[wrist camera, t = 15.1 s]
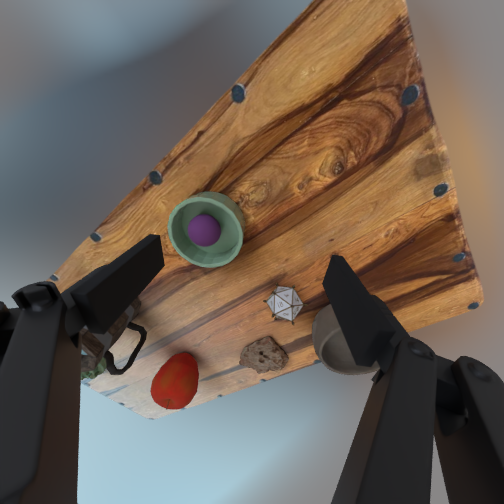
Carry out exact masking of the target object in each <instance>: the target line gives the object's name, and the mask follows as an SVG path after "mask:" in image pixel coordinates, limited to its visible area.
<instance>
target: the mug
mask: <svg viewBox="0 0 504 504" xmlns="http://www.w3.org/2000/svg"><path fill="white" fill-rule="evenodd" d="M140 305H141V302H140V301H139V299H138V298H136V299H135V300H134V301H133V302H132V303H131V305H130V306H129V307H128V308H127V309H126V310H125V311H124V313H123V314H122V315H121V316H120V317H119V318H118V319H117V321H116V322H115V323H114V324H113V325H112V326H111V327H110V329H109V330H108V331H107V332H106V333H105V334H104V335H102V334H94V333H90V332H89V330H88V328H87V326H85V327H84V328H82V329H81V330H80V332H81V334H82V353H81V372H87V371H94V370H95V368H96V367H97V365H98V364H99V362H100V361H101V359H102V358H103V357H104V358H105V359H106V366H107V370H108V371H109V372H110V374H111V375H122V374H123V373H124V372H125V371H126V370H127V369H129V368H130V367H131V366H132V364H133V362H134V360H135V358H136V356H137V354H138V352H139V351H140V349H141V347H142V346H143V344H144V342H145V340H146V335H147V332H146V330H145V329H144V327H142V326H139V325H137V324H134V323H132V322H131V321H132V320H133V319H134V318H135V317H136V316H137V315H138V312H139V308H140ZM126 327H127V328H130V329H132V330H135V331H139V333H140V334H141V338H140V341H139V343H138V345H137V346H136V348H135V349H134V351H133V353H132V354H131V356H130V358H129V360H128V363H127V364H126V366H125V367H124V368H123V369H117V368H116V367H115V365H114V357H113V354H112V353H111V352H109V351H108V350H109V349H110V348H111V347H112V346H113V344H114V343H115V342H116V341H117V340H118V339H119V338H120V336H121V335H122V333H123V331H124V330H125V328H126Z"/></svg>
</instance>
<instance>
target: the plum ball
mask: <svg viewBox="0 0 504 504" xmlns="http://www.w3.org/2000/svg"><path fill="white" fill-rule="evenodd" d="M188 235H189V237H190V239H191V240H192V241H193V242H194V243H195V244H196V245H199V246H202V247H208V246H211V245H213V244H215V243H216V242H217V241H218V240H219V238H220V236H221V226H220V224H219V222H218V221H217V219H215V218H214V217H213V216H211V215H207V214H201V215H197V216H196V217H194V218H193V219H192V220H191V221H190V223H189V225H188Z"/></svg>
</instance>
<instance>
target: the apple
mask: <svg viewBox="0 0 504 504" xmlns="http://www.w3.org/2000/svg"><path fill="white" fill-rule="evenodd" d="M198 379H199V373H198V364H197V361H196V360H195V359H194V358H193V356H192V355H190V354H188V353H179V354H175V355H173V356H172V357H171V358H170V359H169V360H168V361H167V362H166V363H165V364H164V365H163V366H162V367H161V368H160V370H159V371H158V373H157V374H156V375H155V377H154V379H153V381H152V385H151V395H152V398H153V400H154V401H155V402H156V403H157V404H158V405H160V406H161V407H164V408H166V410H167V409H181V408H183V407H185V406H186V405H188V404H189V403H190V402H191V400H192V399H193V397H194V396H195V394H196V392H197V387H198Z"/></svg>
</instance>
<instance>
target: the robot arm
mask: <svg viewBox="0 0 504 504" xmlns="http://www.w3.org/2000/svg"><path fill="white" fill-rule="evenodd" d="M164 266H165V265H164V258H163V252H162V246H161V240H160V235H153V234H149V235H148V236H147V237H145V238H144V239H142V240H141V241H140V242H138V243H137V244H136V245H134V246H133V247H132V248H130V249H129V250H127V251H126V252H125V253H123V254H122V255H121V256H119V257H118V258H116V259H115V260H114V261H112V262H111V263H110V264H108V265H104V266H101V267H99V268H97V269H95V270H94V271H92V272H91V273H89V274H88V275H87V276H85V277H84V278H82V280H79V281H78V282H77V283H75V284H74V285H72V286H71V287H69V288H68V289H67V290H65V291H64V292H62V293H61V294H60V292H59V291H58V289H57V287H56V285H55V283H53V282H48V281H44V282H37V283H34V284H30V285H27V286H25V287H23V288H21V289H19V290H18V291H16V292H15V293H14V294H13V295H12V298H13V299H14V301H15V302H16V304H17V305H18V306H19V308H11V309H8V308H7V307H6V305H5V304H4V303H3V302H1V301H0V504H77V481H78V479H77V478H78V448H79V415H80V385H81V353H82V334H81V332H80V330H81V329H82V328H84V327H85V326H87V328H88V330H89V332H90V333H94V334H102V335H104V334H105V333H106V332H107V331H108V330H109V329H110V327H111V326H112V325H113V324H114V323H115V322H116V321H117V319H118V318H119V317H120V316H121V315H122V314H123V313H124V311H125V310H126V309H127V308H128V307H129V306H130V305H131V303H132V302H133V301H134V300H135V299H136V298H137V297H138V295H139V294H140V293H141V292H142V291H143V290H144V289H145V287H146V286H147V285H148V284H149V283H150V282H151V281H152V279H153V278H154V277H155V276H156V275H157V274H158V273H159V271H160V270H161V269H162V268H163V267H164ZM322 284H323V287H324V289H325V292H326V294H327V297H328V299H329V301H330V304H331V306H332V309H333V311H334V313H335V316H336V318H337V321H338V323H339V325H340V328H341V330H342V333H343V335H344V337H345V340H346V342H347V345H348V347H349V349H350V352H351V354H352V357H353V359H354V361H355V364H356V365H358V366H366V367H372V365H373V364H374V362H375V361H376V360H377V362H378V364H379V366H380V369H379V370H378V371H377V373H376V374H375V375H374V377H373V378H372V381H373V382H374V383H373V386H372V388H371V391H370V394H369V397H368V400H367V402H366V405H365V408H364V411H363V414H362V417H361V420H360V422H359V425H358V428H357V431H356V434H355V437H354V440H353V442H352V445H351V448H350V451H349V454H348V457H347V459H346V462H345V465H344V468H343V471H342V474H341V476H340V480H339V482H338V485H337V488H336V491H335V494H334V496H333V499H332V502H331V504H430V491H431V490H430V489H431V473H432V455H433V438H434V437H435V441H436V446H437V450H438V455H439V459H440V464H441V468H442V473H443V477H444V482H445V486H446V491H447V495H448V500H449V504H504V383H503V381H502V380H501V379H500V377H499V376H498V375H497V374H496V373H495V372H494V371H493V370H492V369H490V368H489V367H488V366H486V365H485V364H483V363H482V362H480V361H478V360H475V359H473V358H470V357H467V356H460V358H458V359H457V360H456V361H455V362H454V361H451V360H448V359H445V358H443V357H440V356H437V355H436V354H435V353H434V351H433V350H432V349H431V348H430V347H429V346H427V345H426V344H424V343H423V342H422V341H420V340H418V339H415V338H413V337H410V336H409V334H408V333H407V332H406V330H405V329H404V328H403V327H402V325H401V324H400V323H399V321H398V320H397V319H396V317H395V316H393V314H392V312H391V311H390V310H389V308H388V307H387V306H386V304H385V303H384V302H383V301H382V300H381V299H379V298H378V297H377V296H376V295H370V294H369V292H368V291H367V290H366V288H365V287H364V285H363V284H362V283H361V281H360V280H359V278H358V277H357V276H356V274H355V273H354V271H353V270H352V269H351V267H350V266H349V264H348V263H347V262H346V260H345V259H344V257H343V256H338V255H332V257H331V260H330V263H329V266H328V269H327V271H326V274H325V277H324V280H323V283H322ZM433 436H434V437H433Z"/></svg>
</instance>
